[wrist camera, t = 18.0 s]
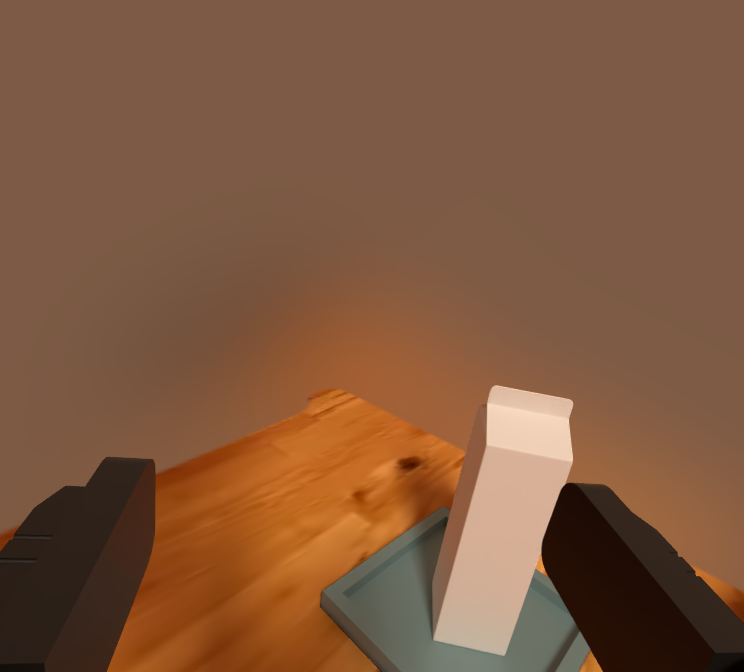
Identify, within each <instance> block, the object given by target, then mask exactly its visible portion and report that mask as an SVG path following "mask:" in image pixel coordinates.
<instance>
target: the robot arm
mask: <svg viewBox="0 0 744 672" xmlns="http://www.w3.org/2000/svg"><path fill="white" fill-rule="evenodd" d="M154 535H155V463H154V460H153V459H138V458H118V457H106V458H105V459H104V460H103V461H102V463H101V464H100V465H99V467H98V468H97V470H96V471H95V473H94V474H93V476H92V477H91V479H90V480H89V482H88V483H87V485H86V486H85V487H80V486H65V487H63V488H62V489H60V490H59V491H58V492H56V493H55V494H53V495H52V496H50V497H49V498H47V499H46V500H45V501H43V502H42V503H40V504H39V505H37V506H36V507H35V508H34V509H33V510H32V512H31V513H30V514H29V515H28V517H27V518H26V520H25V521H24V522H23V523H22V525H21V526H20V527H19V528H18V530H17V531H16V532H15V534H14V538H13V540H9V541H8V543H7V544H6V545H5V547H4V548H3V549H2V551H1V552H0V672H107V669H108V667H109V664H110V662H111V659H112V656H113V654H114V651H115V649H116V646H117V643H118V641H119V638H120V636H121V633H122V630H123V628H124V625H125V623H126V620H127V617H128V615H129V612H130V610H131V607H132V604H133V602H134V599H135V597H136V594H137V592H138V589H139V586H140V584H141V581H142V579H143V576H144V573H145V571H146V568H147V565H148V563H149V559H150V556H151V552H152V547H153V542H154ZM541 554H542V561H543V565H544V568H545V571H546V573H547V575H548V576H549V578H550V580H551V582H552V583H553V585H554V587H555V589H556V590H557V592H558V594H559V596H560V597H561V599H562V601H563V603H564V604H565V606H566V608H567V610H568V611H569V613H570V615H571V617H572V618H573V620H574V622H575V623H576V625H577V627H578V629H579V630H580V632H581V634H582V636H583V637H584V639H585V641H586V643H587V644H588V646H589V648H590V650H591V651H592V653H593V655H594V657H595V658H596V660H597V662H598V664H599V665H600V667H601V669H602V671H603V672H744V623H743V622H742V621H741V620H740V619H739V618H738V617H737V616H736V614H735V613H734V612H733V611H732V610H731V609H730V608H729V607H728V606H727V605H726V604H725V603H724V602H723V601H722V599H721V598H720V597H719V596H718V595H717V594H716V593H715V592H714V591H713V590H712V589H711V588H710V587H709V586H708V584H707V583H706V582H705V581H704V580H703V579H702V578H701V577H700V576H696V575H695V571H694V569H693V568H692V567H691V566H690V565H689V564H688V563H687V562H686V561H685V560H684V559H683V558H682V557H678V555H677V554H678V553H677V551H676V550H675V549H674V548H673V547H672V546H671V545H670V544H669V543H668V542H667V541H666V539H665V538H664V537H663V536H662V535H661V534H660V533H659V532H658V531H657V530H656V529H654V528H653V527H652V526H650V525H649V524H648V523H646V522H645V521H643V520H642V519H641V518H639V517H638V516H637V515H635V514H634V513H632V512H631V511H630V510H629V508H628V507H627V506H626V505H625V504H624V503H623V502H622V501H621V500H620V499H619V497H618V496H617V495H616V494H615V493H614V492H613V491H612V490H611V489H610V488H609V487H607V486H606V485H601V484H584V483H567V484H565V485H564V486H563V487H562V489H561V491H560V493H559V496H558V499H557V501H556V504H555V507H554V510H553V512H552V515H551V518H550V521H549V523H548V526H547V529H546V532H545V534H544V537H543V540H542V546H541Z"/></svg>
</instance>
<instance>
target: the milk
mask: <svg viewBox="0 0 744 672" xmlns="http://www.w3.org/2000/svg"><path fill="white" fill-rule="evenodd" d="M572 407H573V402H572V401H571V400H570V399H565V398H560V397H555V396H549V395H544V394H539V393H534V392H528V391H523V390H518V389H512V388H507V387H502V386H493V387H492V388H491V390H490V394H489V397H488V401H487V403H485V404H481V405H478V407H477V411H476V415H475V419H474V423H473V427H472V430H471V434H470V438H469V442H468V446H467V450H466V454H465V457H464V461H463V465H462V469H461V473H460V477H459V480H458V484H457V488H456V492H455V496H454V500H453V504H452V507H451V511H450V515H449V519H448V523H447V527H446V531H445V534H444V538H443V542H442V546H441V550H440V554H439V558H438V561H437V565H436V569H435V573H434V577H433V581H432V612H433V640H434V641H438V642H443V643H447V644H452V645H456V646H461V647H465V648H470V649H474V650H479V651H483V652H488V653H492V654H497V655H501V656H505V654H506V651H507V648H508V645H509V642H510V639H511V637H512V634H513V631H514V628H515V625H516V622H517V619H518V617H519V614H520V611H521V608H522V605H523V602H524V599H525V597H526V594H527V591H528V588H529V585H530V582H531V580H532V577H533V574H534V571H535V568H536V565H537V562H538V560H539V557H540V554H541V546H542V540H543V537H544V534H545V532H546V529H547V526H548V523H549V521H550V518H551V515H552V512H553V510H554V507H555V504H556V501H557V499H558V496H559V493H560V491H561V489H562V487H563V486H564V485H565V483H566V480H567V477H568V474H569V471H570V468H571V465H572V463H573V455H572V446H571V437H570V428H569V416H570V413H571V410H572Z"/></svg>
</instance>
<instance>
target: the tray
mask: <svg viewBox="0 0 744 672" xmlns="http://www.w3.org/2000/svg"><path fill="white" fill-rule="evenodd" d="M449 515H450V510H449V509H448V508H446V507H445V506H442V507H441V508H439V509H438V510H436V511H435V512H433V513H432V514H431V515H429V516H428V517H426V518H425V519H424V520H422V521H421V522H419V523H418V524H416V525H415V526H414V527H412V528H411V529H409V530H408V531H407V532H405V533H404V534H402V535H401V536H400V537H398V538H397V539H395V540H394V541H392V542H391V543H390V544H388V545H387V546H385V547H384V548H383V549H381V550H380V551H378V552H377V553H375V554H374V555H373V556H371V557H370V558H368V559H367V560H366V561H364V562H363V563H361V564H360V565H358V566H357V567H356V568H354V569H353V570H351V571H350V572H349V573H347V574H346V575H344V576H343V577H341V578H340V579H339V580H337V581H336V582H334V583H333V584H332V585H330V586H329V587H327V588H326V589H325V590H323V591H322V598H321V604H320V607H321V608H322V609H323V610H324V611H325V612H326V613H327V614H328V616H329V617H330V618H331V619H332V620H333V621H334V622H335V623H336V624H337V625H338V626H339V627H340V628H341V629H342V630H343V631H344V632H345V634H346V635H347V636H348V637H349V638H350V639H351V640H352V641H353V642H354V643H355V644H356V645H357V646H358V647H359V648H360V649H361V651H362V652H363V653H364V654H365V655H366V656H367V657H368V658H369V659H370V660H371V661H372V662H373V663H374V664H375V665H376V666H377V668H378V669H379V670H380V671H381V672H579V671H580V669H581V668H582V666H583V664H584V662H585V660H586V658H587V657H588V655H589V653H590V651H591V650H590V648H589V646H588V644H587V643H586V641H585V639H584V637H583V636H582V634H581V632H580V630H579V629H578V627H577V625H576V623H575V622H574V620H573V618H572V617H571V615H570V613H569V611H568V610H567V608H566V606H565V604H564V603H563V601H562V599H561V597H560V596H559V594H558V592H557V590H556V589H555V587H554V585H553V583H552V582H551V580H550V578H548V577H547V576H545V575H544V574H542V573H541V572H539V571H538V570H536V569H535V571H534V574H533V577H532V580H531V582H530V585H529V588H528V591H527V594H526V597H525V599H524V602H523V605H522V608H521V611H520V614H519V617H518V619H517V622H516V625H515V628H514V631H513V634H512V637H511V639H510V642H509V645H508V648H507V651H506V654H505V656H501V655H497V654H492V653H488V652H483V651H479V650H474V649H470V648H465V647H461V646H456V645H452V644H447V643H443V642H438V641H434V640H433V612H432V581H433V577H434V573H435V569H436V565H437V561H438V558H439V554H440V550H441V546H442V542H443V538H444V534H445V531H446V527H447V523H448V519H449Z"/></svg>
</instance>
